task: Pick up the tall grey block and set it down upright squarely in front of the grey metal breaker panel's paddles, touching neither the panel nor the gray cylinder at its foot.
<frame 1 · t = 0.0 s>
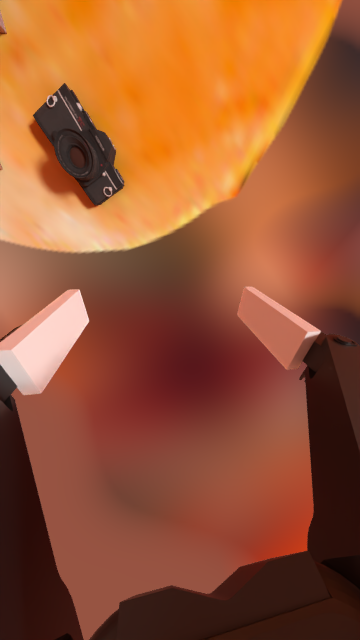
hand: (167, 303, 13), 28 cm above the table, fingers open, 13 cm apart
film camera: (89, 157, 28), on the table
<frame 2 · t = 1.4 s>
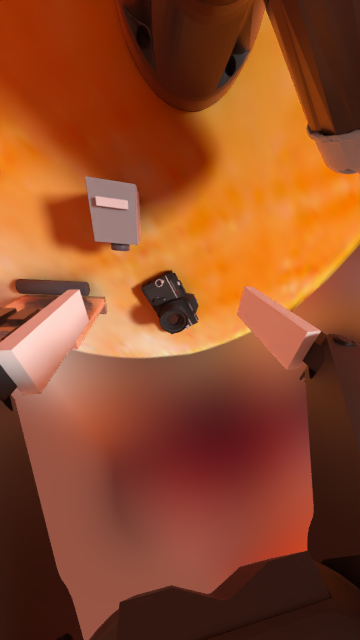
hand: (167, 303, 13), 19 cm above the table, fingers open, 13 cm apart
film camera: (172, 301, 34), on the table
grey tall block: (124, 218, 25), on the table
gray cylinder: (58, 285, 28), on the table
breaker panel: (68, 298, 30), on the table
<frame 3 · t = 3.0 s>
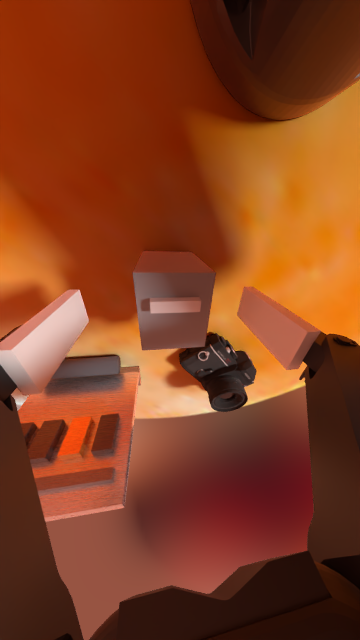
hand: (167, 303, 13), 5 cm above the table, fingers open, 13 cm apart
film camera: (217, 361, 27), on the table
grey tall block: (167, 280, 18), on the table
gray cylinder: (83, 360, 22), on the table
breaker panel: (95, 372, 24), on the table
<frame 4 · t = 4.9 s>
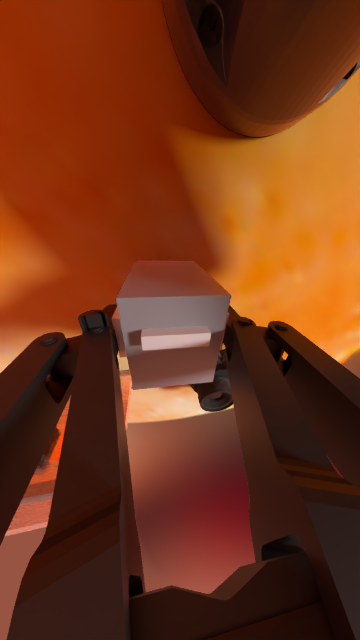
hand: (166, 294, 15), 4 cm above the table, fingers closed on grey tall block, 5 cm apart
film camera: (205, 361, 27), on the table
grey tall block: (166, 293, 15), point 4 cm above the table, touching gripper
breaker panel: (87, 377, 24), on the table
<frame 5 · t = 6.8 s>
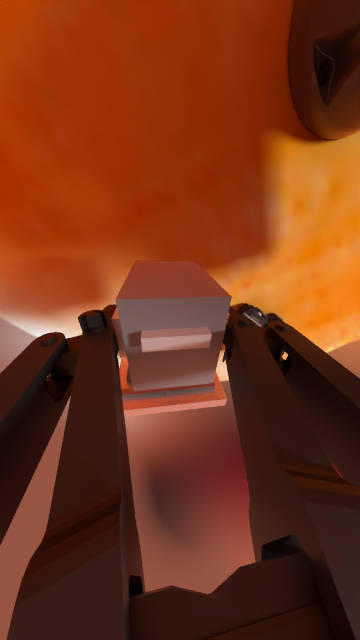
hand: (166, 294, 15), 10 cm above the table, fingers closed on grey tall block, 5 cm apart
film camera: (252, 327, 32), on the table
grey tall block: (166, 293, 15), point 10 cm above the table, touching gripper
breaker panel: (164, 333, 29), on the table
when the fingers open (1 cm above the table, at t = 8.6 s): grey tall block stays where it is, on the table.
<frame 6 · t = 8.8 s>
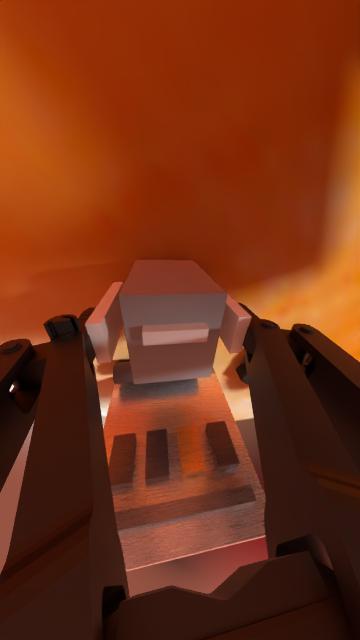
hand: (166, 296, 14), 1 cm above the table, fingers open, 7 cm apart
grey tall block: (165, 291, 15), on the table
gray cylinder: (158, 362, 20), on the table
breaker panel: (166, 374, 22), on the table
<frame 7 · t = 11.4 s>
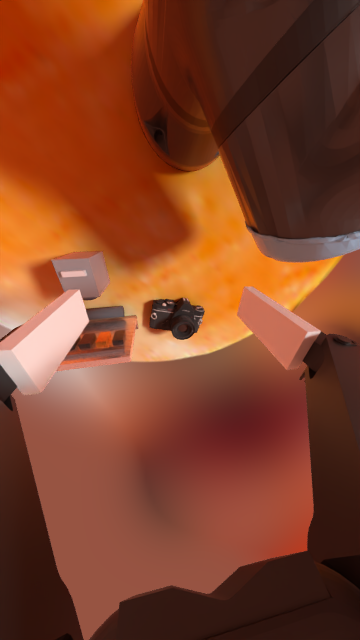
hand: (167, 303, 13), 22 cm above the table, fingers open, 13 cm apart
film camera: (176, 313, 40), on the table
grey tall block: (93, 268, 31), on the table
gray cylinder: (100, 311, 36), on the table
breaker panel: (108, 320, 37), on the table
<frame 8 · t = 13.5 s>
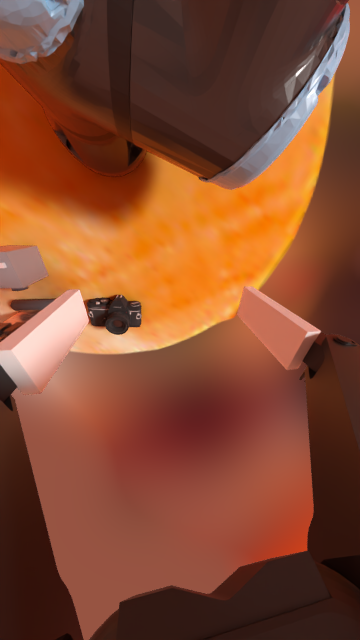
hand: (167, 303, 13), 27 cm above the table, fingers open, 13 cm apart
film camera: (117, 309, 42), on the table
grey tall block: (29, 261, 33), on the table
gray cylinder: (43, 302, 38), on the table
breaker panel: (51, 311, 39), on the table
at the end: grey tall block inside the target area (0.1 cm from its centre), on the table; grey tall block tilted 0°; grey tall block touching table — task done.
